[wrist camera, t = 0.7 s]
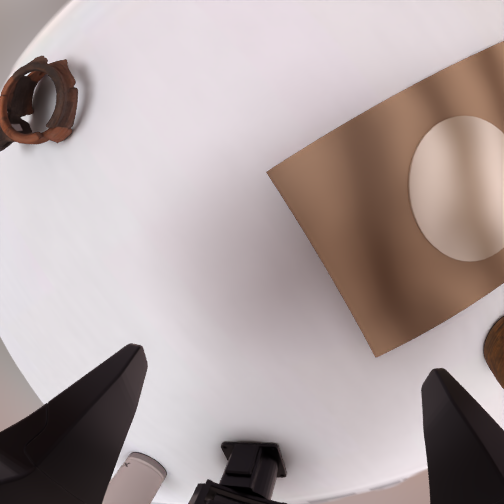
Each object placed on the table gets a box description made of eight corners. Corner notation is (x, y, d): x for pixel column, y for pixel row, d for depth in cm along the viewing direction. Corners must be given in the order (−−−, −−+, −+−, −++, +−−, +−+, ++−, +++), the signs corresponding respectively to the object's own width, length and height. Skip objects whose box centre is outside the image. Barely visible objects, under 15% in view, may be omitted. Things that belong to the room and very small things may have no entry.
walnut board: (505, 41, 14) (516, 34, 12) (576, 210, 15) (589, 214, 13) (270, 171, 21) (264, 172, 19) (373, 347, 23) (376, 362, 21)
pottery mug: (65, 44, 23) (37, 32, 16) (111, 102, 28) (94, 103, 21) (-5, 121, 24) (-43, 132, 17) (38, 175, 29) (8, 198, 22)
